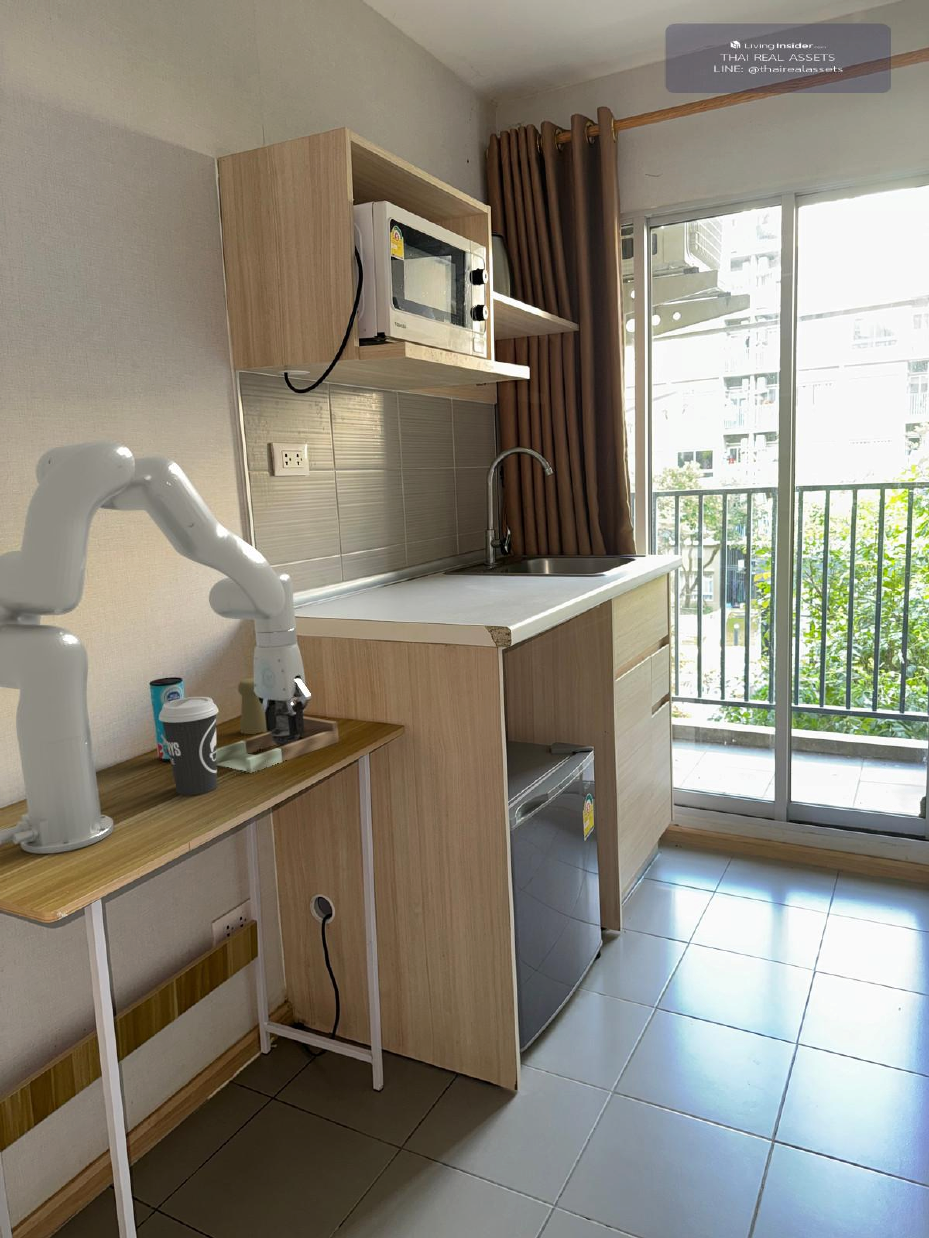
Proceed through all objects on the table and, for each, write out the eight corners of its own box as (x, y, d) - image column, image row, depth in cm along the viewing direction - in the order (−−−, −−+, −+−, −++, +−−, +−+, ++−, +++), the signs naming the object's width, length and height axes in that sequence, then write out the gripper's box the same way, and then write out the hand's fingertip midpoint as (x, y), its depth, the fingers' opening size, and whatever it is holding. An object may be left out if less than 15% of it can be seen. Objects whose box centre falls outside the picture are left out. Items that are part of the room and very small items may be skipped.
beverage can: (166, 764, 163) (156, 685, 161) (153, 758, 167) (144, 681, 165) (196, 756, 167) (187, 679, 164) (183, 750, 171) (174, 675, 169)
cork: (239, 729, 185) (234, 678, 183) (268, 725, 187) (263, 674, 185) (241, 736, 179) (236, 683, 178) (271, 732, 181) (266, 680, 179)
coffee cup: (199, 776, 154) (190, 693, 152) (238, 783, 149) (229, 697, 147) (155, 794, 146) (144, 707, 144) (195, 802, 141) (185, 711, 139)
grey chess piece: (306, 744, 170) (300, 683, 169) (297, 753, 165) (291, 691, 163) (277, 744, 171) (271, 685, 169) (267, 754, 165) (261, 692, 164)
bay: (251, 773, 154) (249, 751, 154) (212, 763, 161) (209, 742, 161) (338, 741, 171) (337, 721, 170) (299, 734, 178) (297, 715, 177)
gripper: (231, 639, 167) (241, 731, 170) (291, 645, 156) (300, 742, 159) (263, 633, 173) (271, 721, 176) (322, 638, 162) (331, 732, 165)
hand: (285, 730), depth 167 cm, fingers closed on grey chess piece, 5 cm apart
